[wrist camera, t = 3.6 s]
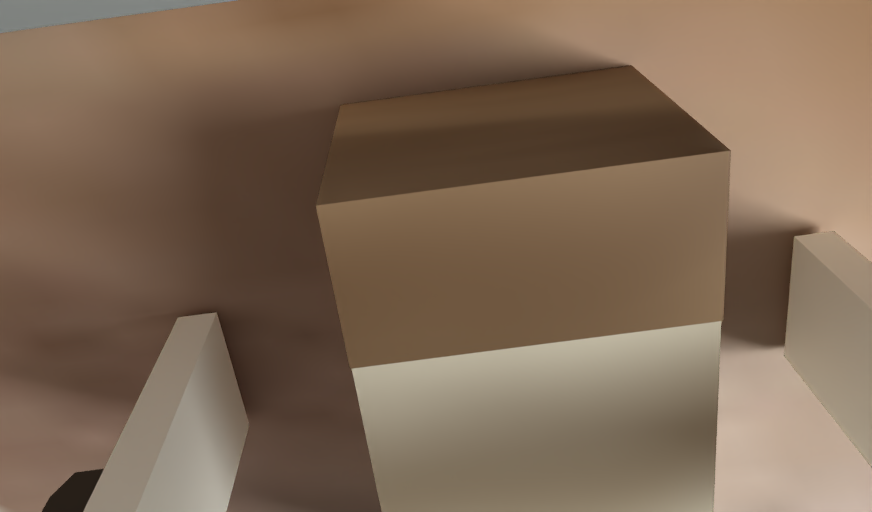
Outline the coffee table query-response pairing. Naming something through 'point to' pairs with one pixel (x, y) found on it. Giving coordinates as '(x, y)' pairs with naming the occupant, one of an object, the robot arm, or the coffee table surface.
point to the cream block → (532, 294)
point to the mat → (79, 11)
